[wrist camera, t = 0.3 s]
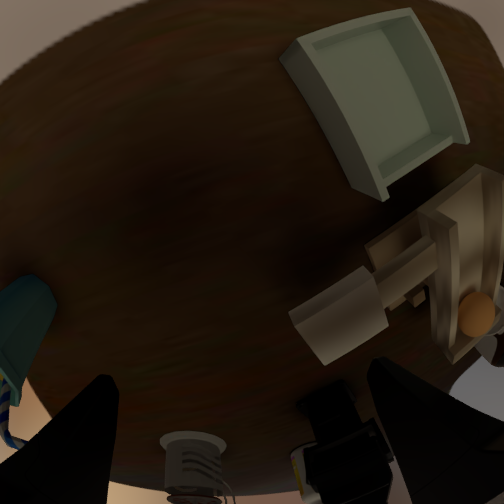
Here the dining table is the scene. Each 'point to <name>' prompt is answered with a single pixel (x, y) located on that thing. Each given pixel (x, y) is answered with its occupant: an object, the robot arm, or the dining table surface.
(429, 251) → the lever
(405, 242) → the stand
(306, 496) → the supplement bottle
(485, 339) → the spread jar
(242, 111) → the dining table surface
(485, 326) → the ball
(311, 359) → the dining table surface
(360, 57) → the tray
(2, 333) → the cup
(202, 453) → the french press
